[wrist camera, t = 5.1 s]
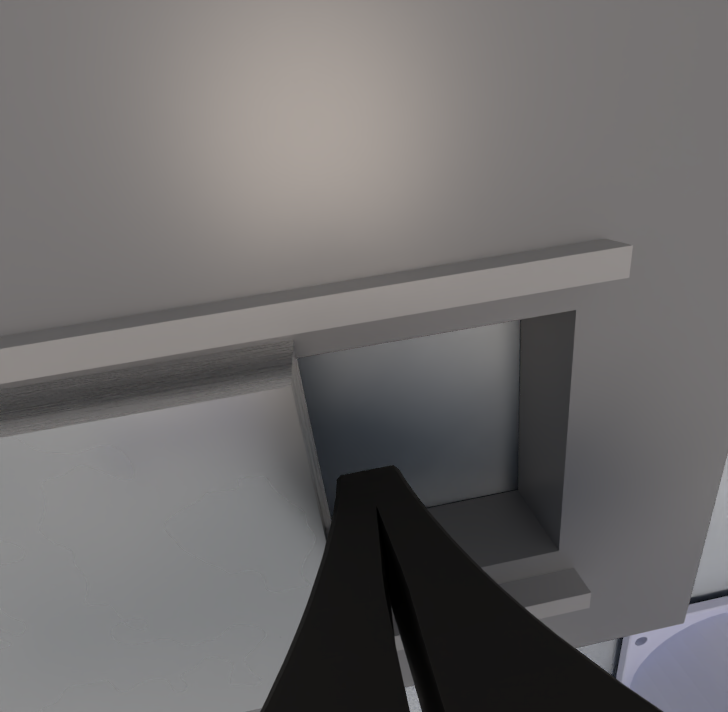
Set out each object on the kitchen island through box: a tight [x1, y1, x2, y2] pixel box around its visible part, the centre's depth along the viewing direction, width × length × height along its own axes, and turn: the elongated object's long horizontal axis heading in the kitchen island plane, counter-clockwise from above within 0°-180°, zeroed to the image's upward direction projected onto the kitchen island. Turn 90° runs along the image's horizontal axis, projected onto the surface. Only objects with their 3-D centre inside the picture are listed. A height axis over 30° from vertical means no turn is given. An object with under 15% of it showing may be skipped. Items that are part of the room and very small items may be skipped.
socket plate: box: [0, 0, 728, 712], centre depth 11 cm, size 18×18×3 cm
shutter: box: [0, 340, 331, 712], centre depth 9 cm, size 8×8×2 cm
